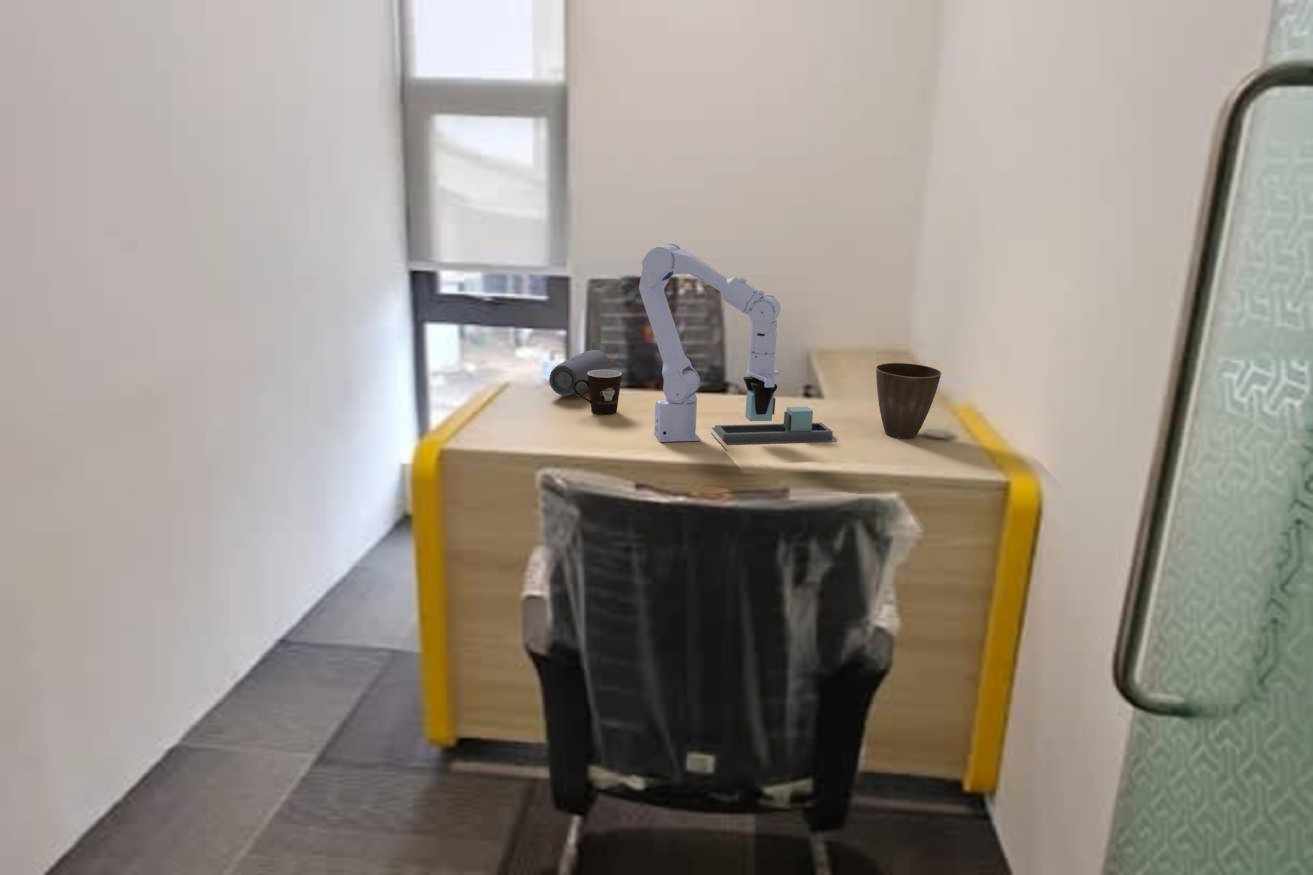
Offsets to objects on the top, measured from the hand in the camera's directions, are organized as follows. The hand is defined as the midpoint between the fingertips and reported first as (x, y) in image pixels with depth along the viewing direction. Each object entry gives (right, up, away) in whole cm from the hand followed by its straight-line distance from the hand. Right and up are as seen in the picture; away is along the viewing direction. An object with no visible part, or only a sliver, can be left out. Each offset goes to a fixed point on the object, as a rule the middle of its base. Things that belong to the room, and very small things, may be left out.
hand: (758, 411), depth 209 cm
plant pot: (+36, -5, +15) cm, 40 cm away
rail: (+4, -7, +7) cm, 11 cm away
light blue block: (+10, -5, +8) cm, 14 cm away
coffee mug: (-38, +1, +27) cm, 47 cm away
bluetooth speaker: (-44, +7, +48) cm, 65 cm away
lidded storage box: (0, -2, +1) cm, 2 cm away
